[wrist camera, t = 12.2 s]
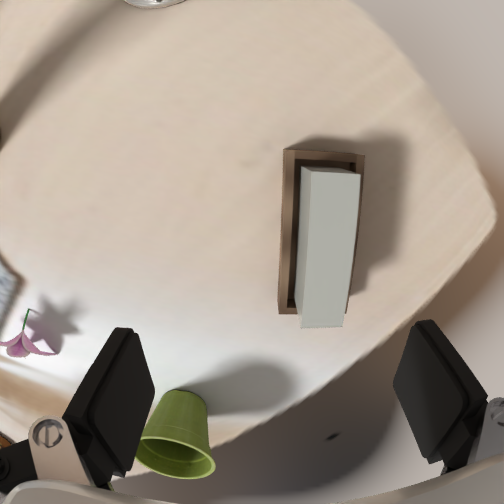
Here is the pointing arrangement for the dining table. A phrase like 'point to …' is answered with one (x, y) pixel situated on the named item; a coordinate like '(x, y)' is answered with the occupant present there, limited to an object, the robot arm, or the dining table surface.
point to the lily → (22, 345)
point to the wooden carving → (3, 443)
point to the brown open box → (291, 213)
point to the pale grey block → (325, 244)
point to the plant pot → (177, 438)
